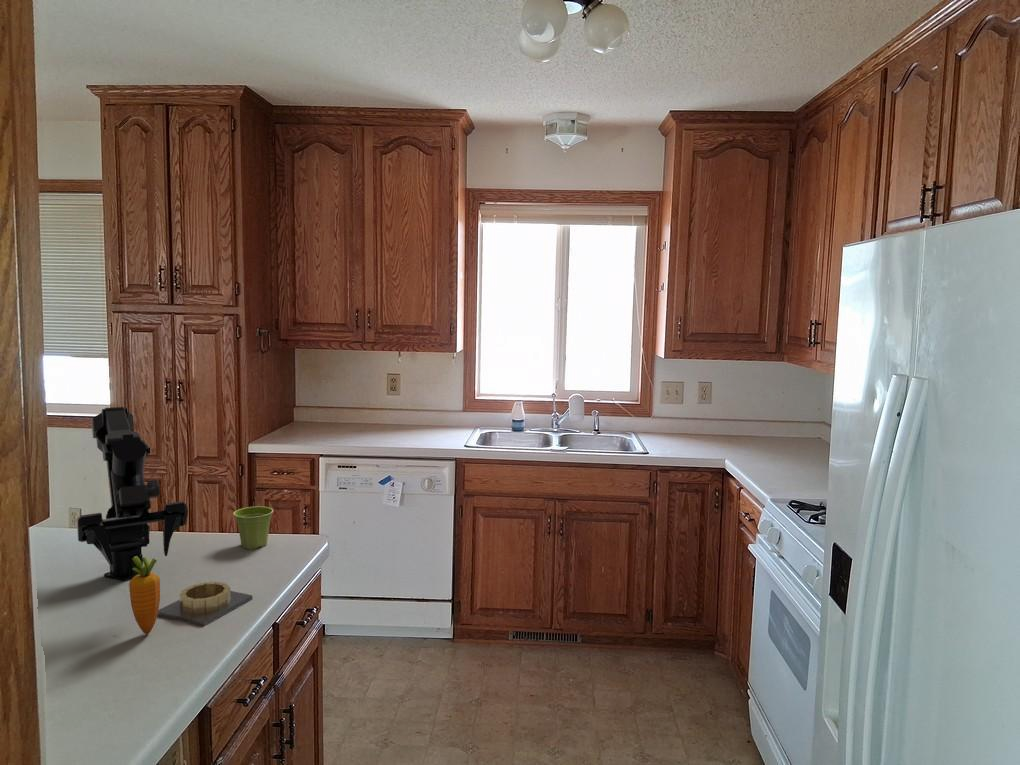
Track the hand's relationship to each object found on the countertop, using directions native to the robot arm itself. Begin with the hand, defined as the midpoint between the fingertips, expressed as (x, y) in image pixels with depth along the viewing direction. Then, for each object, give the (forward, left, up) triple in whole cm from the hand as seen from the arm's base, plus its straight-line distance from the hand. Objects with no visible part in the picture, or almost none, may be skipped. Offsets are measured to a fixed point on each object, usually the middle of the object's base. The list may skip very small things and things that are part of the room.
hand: (139, 559), depth 131 cm
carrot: (+5, -3, -12) cm, 14 cm away
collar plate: (+6, +10, -12) cm, 17 cm away
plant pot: (-10, +42, -12) cm, 45 cm away
